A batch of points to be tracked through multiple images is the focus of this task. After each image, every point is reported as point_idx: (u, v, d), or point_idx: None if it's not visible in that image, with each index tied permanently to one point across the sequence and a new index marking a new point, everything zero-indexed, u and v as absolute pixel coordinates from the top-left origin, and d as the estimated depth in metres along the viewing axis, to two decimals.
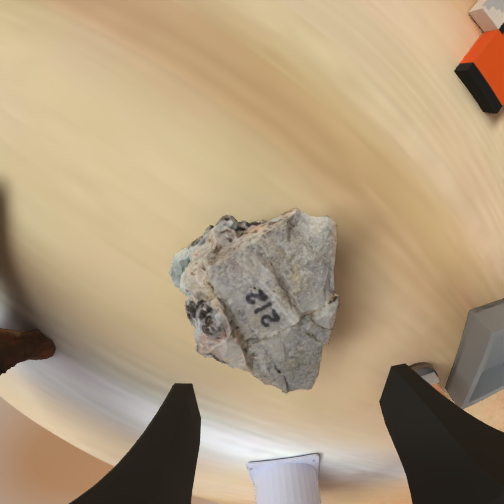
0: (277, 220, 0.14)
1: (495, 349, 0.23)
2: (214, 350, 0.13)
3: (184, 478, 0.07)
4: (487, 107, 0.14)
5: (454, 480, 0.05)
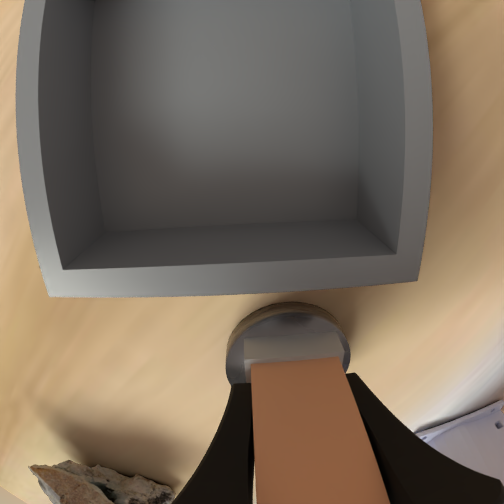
0: None
1: (259, 68, 0.08)
2: None
3: (251, 479, 0.07)
4: None
5: None
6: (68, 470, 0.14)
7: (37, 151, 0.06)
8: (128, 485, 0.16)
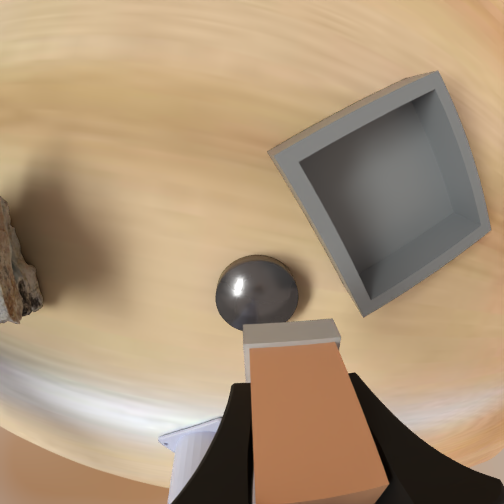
0: None
1: (400, 197, 0.17)
2: None
3: (251, 479, 0.07)
4: None
5: None
6: (1, 209, 0.15)
7: (353, 126, 0.13)
8: (23, 267, 0.17)
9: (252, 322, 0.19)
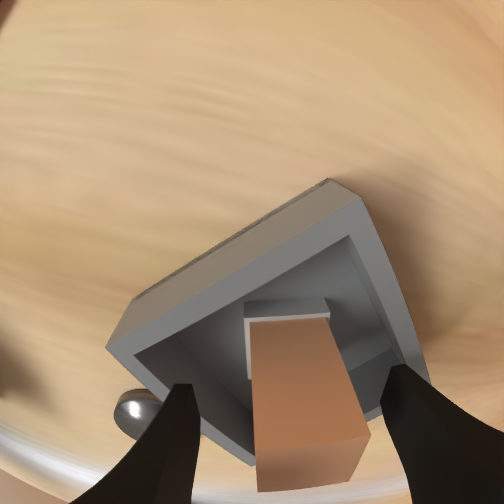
0: None
1: None
2: None
3: (184, 478, 0.07)
4: None
5: (454, 480, 0.05)
6: None
7: (196, 315, 0.10)
8: None
9: None
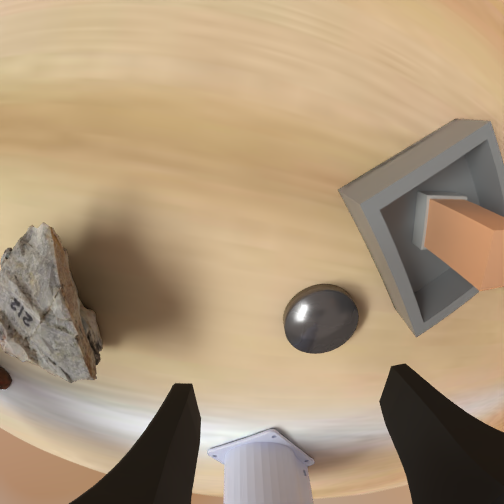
0: None
1: None
2: (6, 349, 0.13)
3: (184, 478, 0.07)
4: None
5: (454, 480, 0.05)
6: None
7: (424, 177, 0.13)
8: (85, 314, 0.18)
9: (316, 344, 0.20)
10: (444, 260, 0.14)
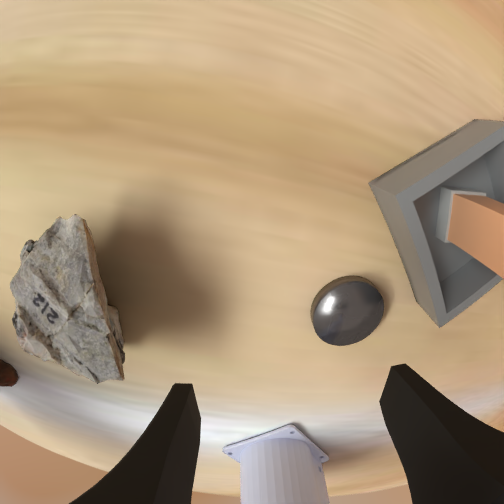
0: None
1: None
2: (25, 347, 0.13)
3: (184, 478, 0.07)
4: None
5: (454, 480, 0.05)
6: None
7: (452, 171, 0.13)
8: (109, 311, 0.18)
9: (342, 336, 0.20)
10: (468, 252, 0.14)
